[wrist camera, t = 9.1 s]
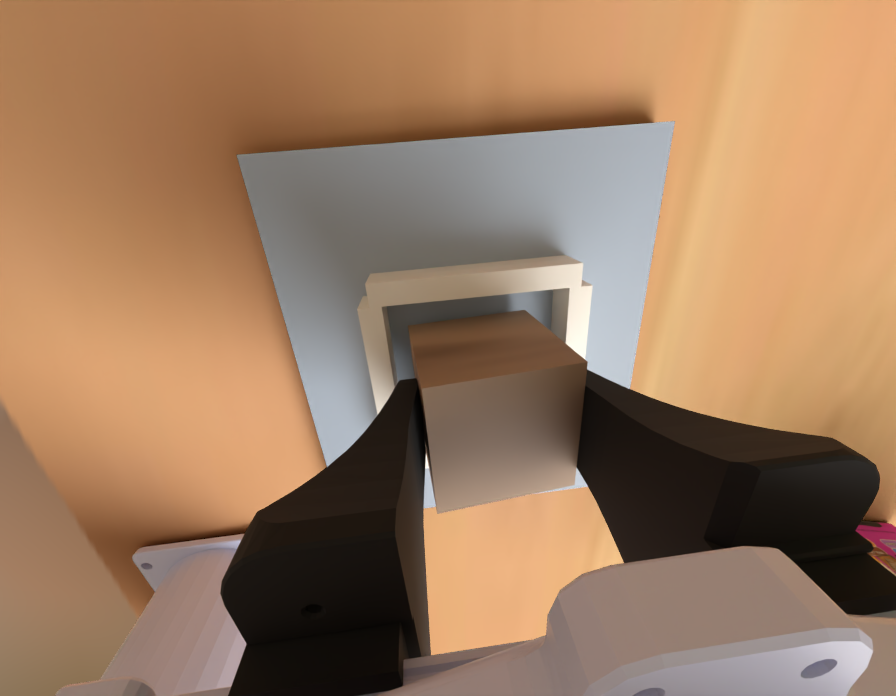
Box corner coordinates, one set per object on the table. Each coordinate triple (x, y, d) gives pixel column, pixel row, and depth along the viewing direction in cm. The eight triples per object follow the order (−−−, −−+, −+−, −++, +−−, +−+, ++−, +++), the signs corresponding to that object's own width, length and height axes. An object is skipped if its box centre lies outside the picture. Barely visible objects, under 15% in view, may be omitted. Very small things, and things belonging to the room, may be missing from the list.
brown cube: (523, 407, 15) (574, 485, 11) (421, 424, 14) (437, 513, 11) (524, 309, 13) (587, 362, 9) (407, 325, 13) (421, 388, 9)
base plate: (604, 468, 19) (630, 506, 17) (345, 502, 18) (336, 546, 16) (655, 125, 12) (709, 112, 10) (250, 157, 12) (211, 150, 9)
